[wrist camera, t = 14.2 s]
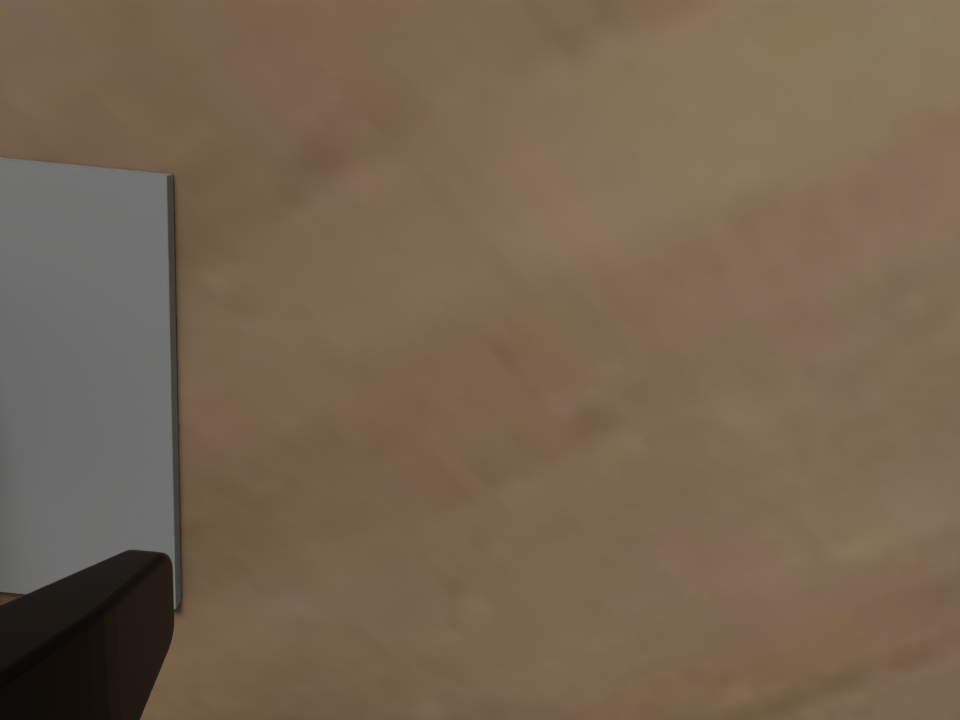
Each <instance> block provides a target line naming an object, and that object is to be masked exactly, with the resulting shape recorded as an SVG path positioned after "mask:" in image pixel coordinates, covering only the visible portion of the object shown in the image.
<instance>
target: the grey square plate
mask: <svg viewBox="0 0 960 720" xmlns="http://www.w3.org/2000/svg"><path fill="white" fill-rule="evenodd" d="M133 549H134V550H144V551H154V552H162V553H166V554H167V555H168V556H169V557H170V558H171V561H172V565H173V592H174V609H176V608H177V607H178V605H179V604H180V602H181V562H180V509H179V455H178V402H177V348H176V295H175V241H174V188H173V174H165V173H155V172H145V171H135V170H124V169H114V168H104V167H93V166H83V165H73V164H63V163H52V162H42V161H32V160H21V159H11V158H1V157H0V592H8V593H18V594H28V593H30V592H33V591H35V590H37V589H39V588H42V587H44V586H46V585H49V584H51V583H53V582H55V581H58V580H60V579H62V578H65V577H67V576H69V575H71V574H74V573H76V572H78V571H81V570H83V569H85V568H87V567H90V566H92V565H94V564H97V563H99V562H101V561H103V560H106V559H108V558H110V557H113V556H115V555H117V554H119V553H122V552H124V551H127V550H133Z"/></svg>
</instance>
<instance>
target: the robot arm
mask: <svg viewBox="0 0 960 720" xmlns="http://www.w3.org/2000/svg"><path fill="white" fill-rule="evenodd" d="M173 630H174V592H173V565H172V561H171V558H170V557H169V556H168V555H167V554H166V553H162V552H154V551H144V550H134V549H133V550H127V551H124V552H122V553H119V554H117V555H115V556H113V557H110V558H108V559H106V560H103V561H101V562H99V563H97V564H94V565H92V566H90V567H87V568H85V569H83V570H81V571H78V572H76V573H74V574H71V575H69V576H67V577H65V578H62V579H60V580H58V581H55V582H53V583H51V584H49V585H46V586H44V587H42V588H39V589H37V590H35V591H33V592H30V593H28V594H26V595H23V596H21V597H19V598H17V599H14V600H12V601H10V602H7V603H5V604H3V605H1V606H0V720H140V718H141V715H142V713H143V711H144V708H145V706H146V703H147V701H148V698H149V696H150V694H151V691H152V689H153V686H154V684H155V681H156V679H157V676H158V674H159V672H160V669H161V667H162V664H163V662H164V659H165V657H166V654H167V652H168V650H169V647H170V644H171V640H172V636H173Z"/></svg>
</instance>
